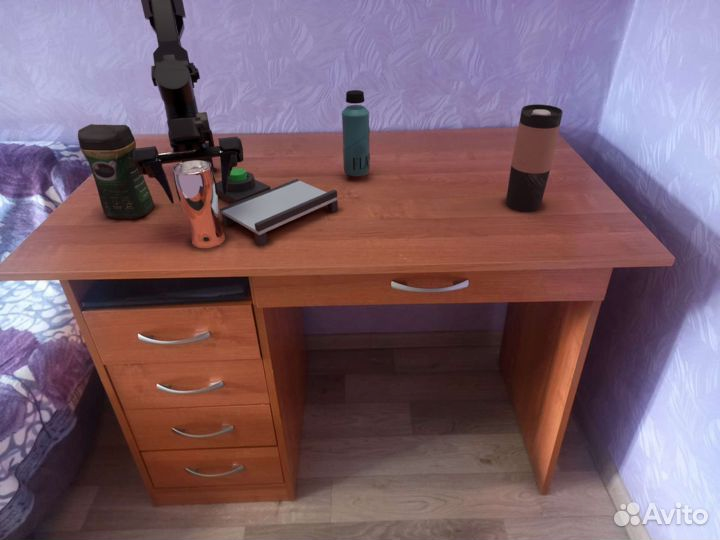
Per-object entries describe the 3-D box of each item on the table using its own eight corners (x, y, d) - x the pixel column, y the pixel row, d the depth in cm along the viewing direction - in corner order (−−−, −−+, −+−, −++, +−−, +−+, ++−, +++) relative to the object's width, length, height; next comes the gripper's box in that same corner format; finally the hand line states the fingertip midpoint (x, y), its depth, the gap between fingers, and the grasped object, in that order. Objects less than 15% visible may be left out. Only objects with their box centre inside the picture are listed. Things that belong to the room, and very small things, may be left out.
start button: (225, 179, 106) (224, 171, 105) (240, 173, 108) (239, 166, 107) (235, 184, 103) (234, 176, 102) (250, 178, 106) (249, 171, 105)
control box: (210, 193, 108) (206, 177, 106) (243, 181, 114) (240, 165, 111) (238, 208, 102) (235, 191, 100) (271, 194, 107) (269, 178, 105)
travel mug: (542, 199, 103) (563, 105, 92) (541, 214, 97) (563, 117, 86) (506, 194, 105) (522, 102, 94) (503, 209, 100) (520, 113, 88)
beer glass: (217, 251, 87) (200, 175, 79) (183, 248, 89) (162, 172, 80) (233, 232, 93) (219, 160, 84) (200, 229, 94) (183, 157, 86)
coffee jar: (160, 204, 104) (136, 119, 93) (142, 221, 97) (114, 132, 87) (119, 202, 105) (91, 118, 94) (98, 219, 98) (66, 131, 88)
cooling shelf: (222, 223, 97) (218, 203, 94) (298, 191, 108) (296, 173, 106) (260, 246, 89) (257, 225, 86) (338, 210, 100) (337, 190, 98)
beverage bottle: (350, 184, 111) (348, 96, 100) (338, 174, 116) (335, 89, 105) (375, 179, 113) (375, 92, 102) (362, 169, 118) (361, 86, 107)
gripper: (117, 101, 78) (133, 190, 75) (232, 91, 83) (250, 173, 80) (134, 134, 89) (148, 212, 86) (235, 123, 93) (251, 197, 91)
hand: (199, 198), depth 86 cm, fingers open, 9 cm apart
